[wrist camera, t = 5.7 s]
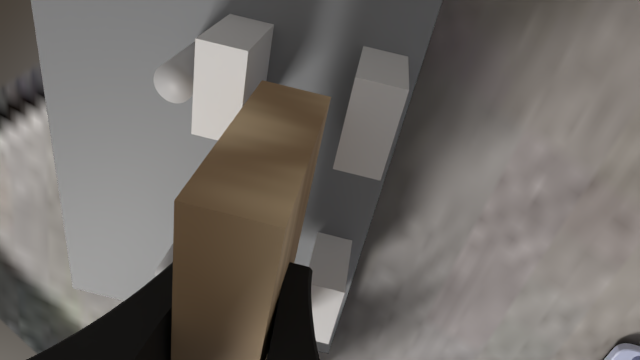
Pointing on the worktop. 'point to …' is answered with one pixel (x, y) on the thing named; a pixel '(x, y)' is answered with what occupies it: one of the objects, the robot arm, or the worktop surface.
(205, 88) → the board
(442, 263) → the worktop surface
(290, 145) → the oak block
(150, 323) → the robot arm
